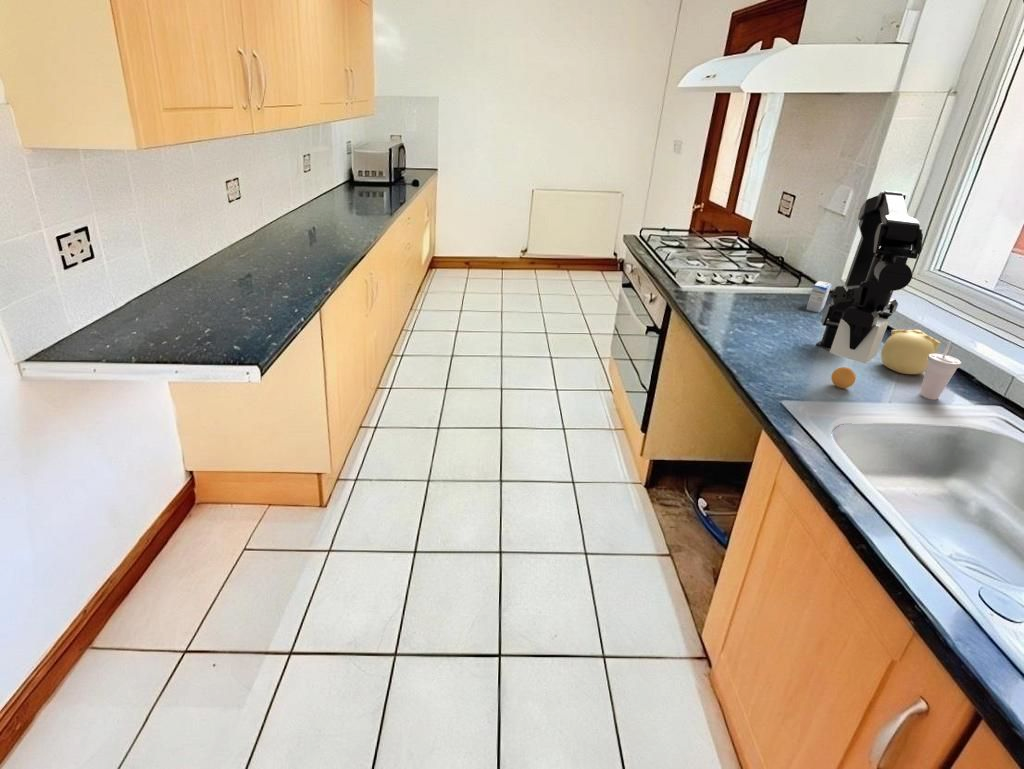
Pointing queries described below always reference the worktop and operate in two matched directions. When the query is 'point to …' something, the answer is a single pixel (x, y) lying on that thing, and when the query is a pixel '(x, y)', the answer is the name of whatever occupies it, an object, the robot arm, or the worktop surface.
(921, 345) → the pale yellow rounded lump
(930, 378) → the smoothie
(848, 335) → the chalk-white cube
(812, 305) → the medicine box
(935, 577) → the worktop surface
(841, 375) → the ball
